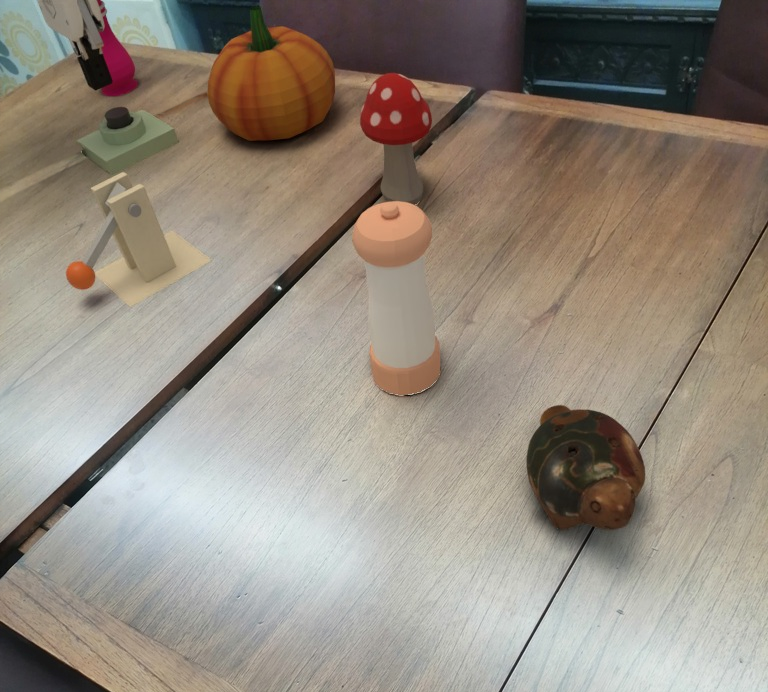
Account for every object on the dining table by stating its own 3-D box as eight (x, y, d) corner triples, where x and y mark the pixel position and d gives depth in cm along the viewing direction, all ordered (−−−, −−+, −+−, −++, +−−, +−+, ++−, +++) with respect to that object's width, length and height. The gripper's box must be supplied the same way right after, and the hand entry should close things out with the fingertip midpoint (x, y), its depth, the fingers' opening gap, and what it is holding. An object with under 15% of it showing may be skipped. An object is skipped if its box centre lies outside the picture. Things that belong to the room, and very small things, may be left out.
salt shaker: (452, 360, 74) (447, 190, 58) (420, 405, 71) (405, 239, 55) (394, 341, 77) (374, 174, 61) (360, 384, 73) (329, 219, 58)
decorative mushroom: (448, 203, 91) (444, 80, 79) (389, 226, 89) (376, 104, 77) (414, 170, 96) (405, 50, 84) (358, 190, 95) (341, 71, 83)
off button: (116, 133, 104) (111, 121, 103) (105, 125, 106) (100, 113, 104) (136, 123, 105) (132, 111, 104) (125, 116, 107) (121, 104, 106)
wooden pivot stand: (134, 314, 84) (90, 227, 75) (96, 280, 89) (51, 194, 80) (215, 268, 88) (183, 179, 78) (175, 238, 93) (140, 150, 83)
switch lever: (91, 298, 83) (68, 286, 80) (79, 287, 85) (56, 275, 82) (147, 203, 81) (124, 188, 78) (134, 194, 82) (111, 178, 80)
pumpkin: (262, 168, 101) (233, 54, 89) (197, 126, 110) (163, 18, 98) (365, 115, 107) (351, 2, 94) (294, 80, 116) (274, -28, 104)
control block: (112, 175, 104) (100, 149, 101) (82, 154, 109) (70, 128, 106) (179, 142, 108) (169, 115, 105) (147, 122, 113) (138, 97, 110)
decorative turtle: (567, 581, 58) (570, 524, 51) (499, 457, 67) (495, 397, 61) (675, 543, 58) (692, 483, 52) (592, 426, 68) (598, 362, 61)
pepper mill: (122, 84, 122) (69, -56, 106) (152, 90, 120) (102, -53, 103) (94, 103, 119) (34, -38, 103) (124, 110, 116) (67, -34, 100)
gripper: (-12, -76, 88) (56, 80, 103) (37, -54, 81) (102, 110, 96) (42, -92, 91) (100, 62, 106) (93, -72, 84) (148, 90, 99)
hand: (101, 85), depth 101 cm, fingers closed
